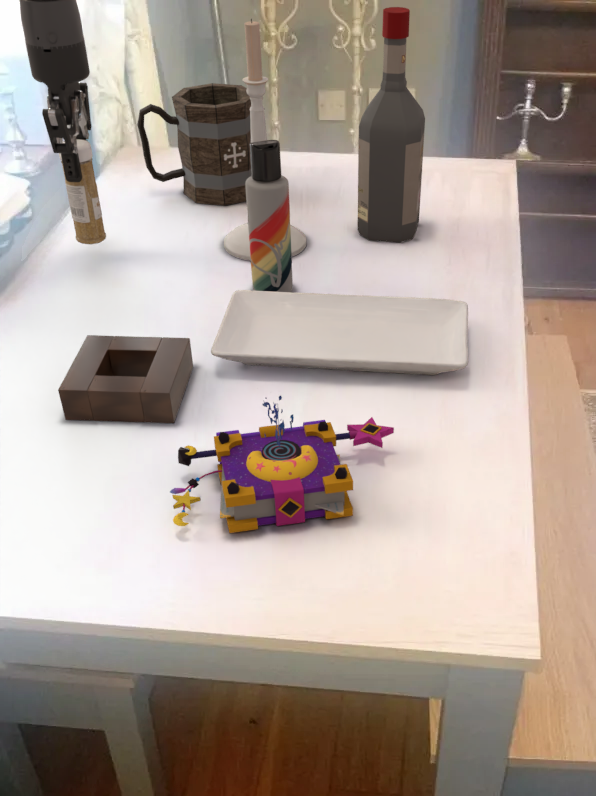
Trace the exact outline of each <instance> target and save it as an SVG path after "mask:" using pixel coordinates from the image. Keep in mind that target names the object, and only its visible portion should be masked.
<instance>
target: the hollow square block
mask: <svg viewBox="0 0 596 796" xmlns="http://www.w3.org/2000/svg"><path fill="white" fill-rule="evenodd" d="M193 369H194V361H193V354H192V344H191V338H190V337H167V336H166V337H164V336H132V335H130V336H129V335H99V334H98V335H97V334H93V335H92V334H87V335H86V337H85V339H84V340H83V343H82V344H81V346H80V348H79V350H78V351H77V354H76V355H75V356H74V359H73V361H72V363H71V365H70V367H69V369H68V370H67V373H66V374H65V376H64V378H63V380H62V382H61V384H60V385H59V388H58V389H57V391H58V395H59V399H60V403H61V407H62V412H63V415H64V419H65V420H66V421H88V422H90V421H92V422H94V421H95V422H115V423H116V422H119V423H154V424H174V423H175V422H176V418H177V416H178V413H179V410H180V407H181V404H182V401H183V398H184V395H185V392H186V390H187V387H188V384H189V381H190V378H191V375H192V372H193Z"/></svg>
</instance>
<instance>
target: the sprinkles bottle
mask: <svg viewBox="0 0 596 796" xmlns="http://www.w3.org/2000/svg"><path fill="white" fill-rule="evenodd" d="M86 140H87V139H86ZM86 140H80V139H77V148H78V151H77V153H78V156H79V161H80V167H81V172H82V180H81V181H80V182H68V181H67V180H66V178H65V173H64V167H63V162H62V157H61V154H59V153H58V157H59V160H60V162H61V165H62V171H63V177H64V184H65V188H66V195H67V199H68V204H69V209H70V214H71V219H72V222H73V226H74V230H75V240H76V242H78V243H80V244H82V245H96V244H99V243H100V244H101V243H102V242H104V241H105V240H106V239H107V233H106V231H105V226H104V220H103V211H102V207H101V202H100V201H101V200H100V196H99V190H98V184H97V182H96V176H95V170H94V164H93V157H94V155H93V149H92V145H91V143H90V141H86ZM63 143H65V141H64V140H63Z"/></svg>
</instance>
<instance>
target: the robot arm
mask: <svg viewBox="0 0 596 796" xmlns="http://www.w3.org/2000/svg"><path fill="white" fill-rule="evenodd" d="M18 7H19V18H20V23H21V27H22V28H21V29H22V34H23V38H24V43H25V48H26V52H27V58H28V63H29V68H30V73H31V76H32V78H33V80H34V81H37V82H38V83H42V84H44V85H46V87H47V96H46V102H47V108H42V112H41V116H42V118H43V122H44V125H45V127H46V132H47V135H48V138H49V141H50V142H49V143H50V145H51V148H52V152H53V154H58V155H59V154H61V157H62V162H63V166H62V168H63V167H64V171H63V174H64V173H65V177H64V179H65V178H66V180H67V181H68V182H80V181H81V180H82V172H81V167H80V161H79V156H78V153H77V151H78V148H77V139H80V140H86V141H88V140H89V139H90V133H89V131H91V130H92V121H91V112H90V111H91V110H90V99H89V98H90V97H89V87H88V83H87V82H86V81H85V80H86V79H87V78H88V77H89V75H90V74H91V71H90V64H89V60H88V59H89V58H88V53H87V47H86V41H85V40H86V39H85V33H84V28H83V21H82V16H81V15H82V14H81V12H80V8H79V5H78V1H77V0H18ZM83 81H85V82H83ZM63 141H65V143H63ZM88 142H89V141H88Z"/></svg>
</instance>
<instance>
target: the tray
mask: <svg viewBox="0 0 596 796" xmlns="http://www.w3.org/2000/svg"><path fill="white" fill-rule="evenodd" d="M468 324H469V304H468V303H467V302H466V301H462V300H457V299H450V298H449V299H448V298H433V297H416V296H415V297H412V296H391V295H388V296H387V295H366V294H365V295H364V294H363V295H361V294H340V293H339V294H337V293H336V294H335V293H314V292H272V291H253V289H252V290H249V289H238V290H235V291H234V292H233V293H232V294H231V297H230V299H229V302H228V305H227V307H226V309H225V313H224V315H223V318H222V321H221V323H220V326H219V328H218V330H217V333H216V335H215V338H214V340H213V343H212V346H211V349H210V354H211V356H214V357H216V358H220V359H224V360H228V361H233V362H240V363H242V365H245V366H246V365H247V366H261V367H278V368H279V367H280V368H281V367H282V368H302V369H318V370H319V369H322V370H339V371H357V372H373V373H389V374H407V375H422V376H423V375H425V376H426V375H427V376H435V375H438V374H440V373H448V372H449V373H450V372H454V371H459V370H463V369H465V368H466V367H467V366H468V362H469V347H468V330H469V329H468V326H469V325H468Z"/></svg>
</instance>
